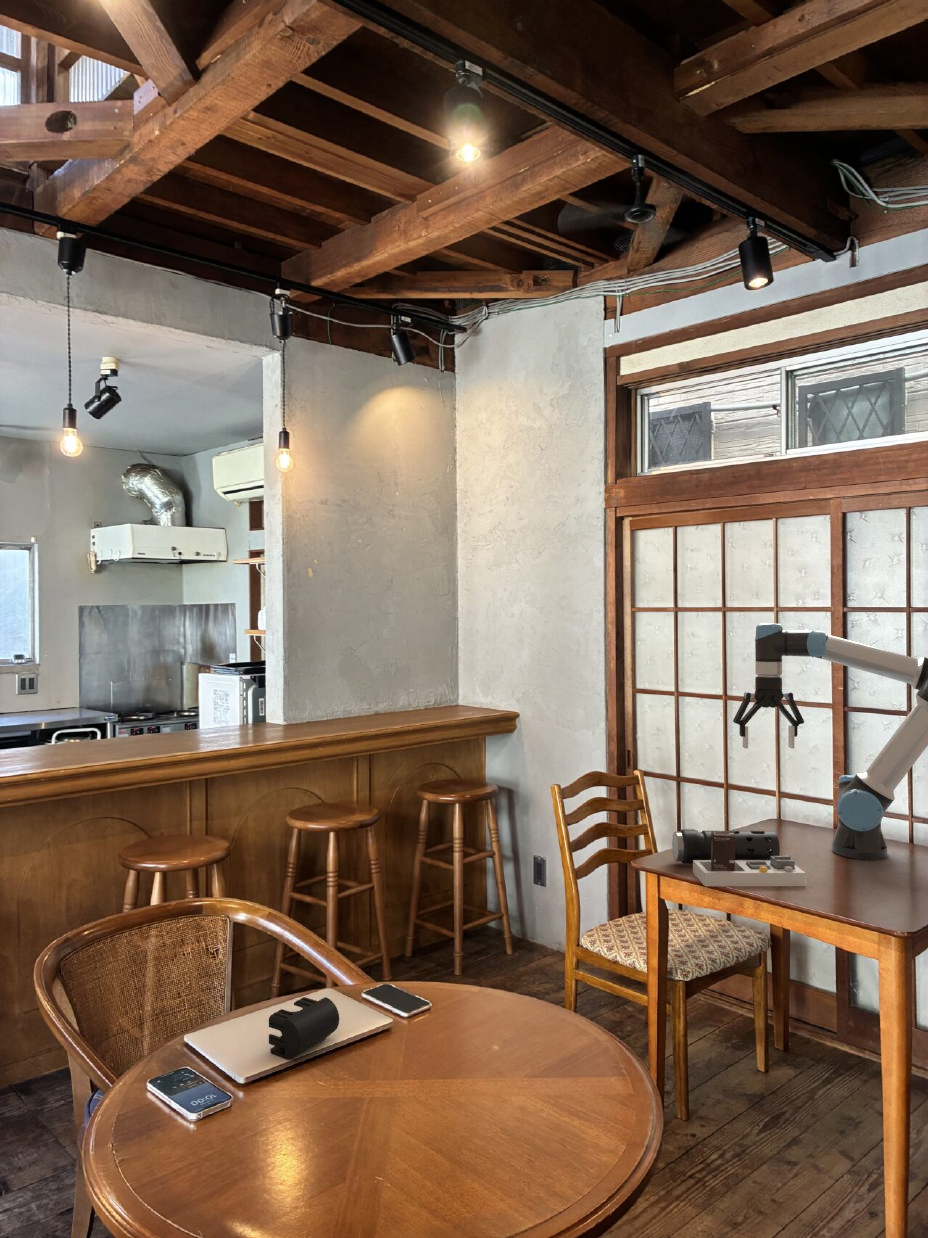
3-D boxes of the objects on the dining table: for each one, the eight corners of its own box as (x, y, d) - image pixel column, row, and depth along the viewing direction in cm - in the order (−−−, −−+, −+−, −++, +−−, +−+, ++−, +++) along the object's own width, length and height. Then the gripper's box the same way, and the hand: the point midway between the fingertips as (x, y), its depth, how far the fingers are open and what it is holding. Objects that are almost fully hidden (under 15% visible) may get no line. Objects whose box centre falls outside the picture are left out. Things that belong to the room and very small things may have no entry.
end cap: (299, 1066, 142) (299, 1024, 142) (266, 1054, 146) (266, 1013, 146) (340, 1041, 151) (340, 1000, 151) (308, 1030, 154) (308, 991, 154)
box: (712, 879, 239) (712, 834, 239) (710, 875, 244) (710, 830, 243) (735, 881, 238) (735, 835, 238) (733, 876, 243) (733, 831, 242)
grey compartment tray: (788, 872, 247) (788, 856, 247) (805, 886, 235) (805, 869, 235) (692, 872, 247) (693, 856, 247) (704, 886, 235) (704, 869, 235)
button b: (763, 874, 243) (763, 859, 243) (769, 879, 239) (769, 864, 239) (746, 874, 243) (746, 859, 243) (751, 879, 239) (751, 864, 239)
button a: (788, 869, 243) (788, 853, 243) (794, 874, 239) (794, 858, 239) (770, 869, 243) (770, 854, 243) (776, 874, 239) (776, 858, 239)
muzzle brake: (780, 872, 249) (780, 834, 248) (678, 871, 249) (678, 834, 249) (769, 862, 258) (769, 826, 258) (671, 861, 259) (671, 825, 258)
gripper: (805, 675, 268) (805, 745, 269) (722, 675, 268) (722, 745, 268) (815, 676, 261) (815, 749, 261) (730, 676, 261) (730, 749, 261)
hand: (768, 748), depth 265 cm, fingers open, 13 cm apart
